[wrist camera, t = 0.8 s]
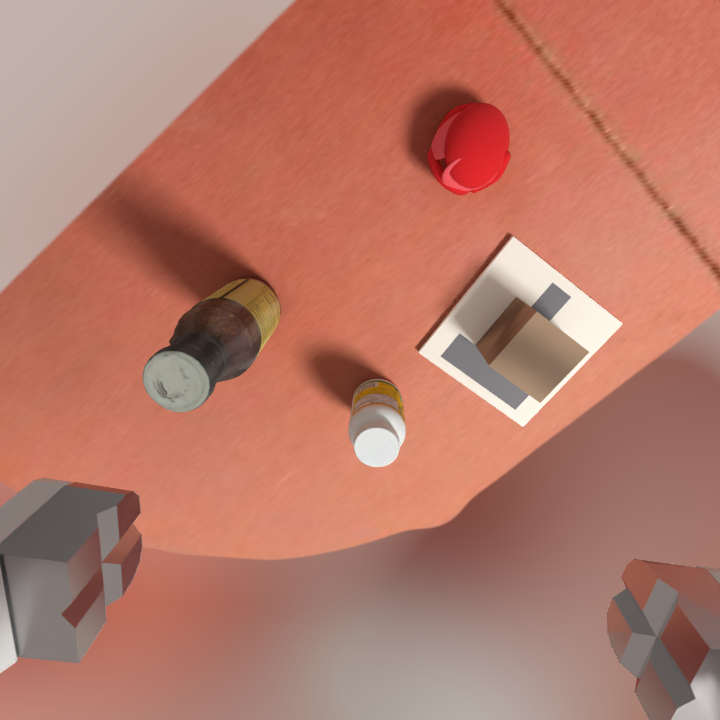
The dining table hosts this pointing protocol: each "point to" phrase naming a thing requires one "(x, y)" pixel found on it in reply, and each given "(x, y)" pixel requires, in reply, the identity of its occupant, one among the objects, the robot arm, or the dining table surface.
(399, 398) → the supplement bottle
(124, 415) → the dining table surface
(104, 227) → the dining table surface
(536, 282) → the letter tile
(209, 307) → the sauce bottle
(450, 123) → the red rounded lump
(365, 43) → the dining table surface
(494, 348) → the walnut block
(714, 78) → the dining table surface
